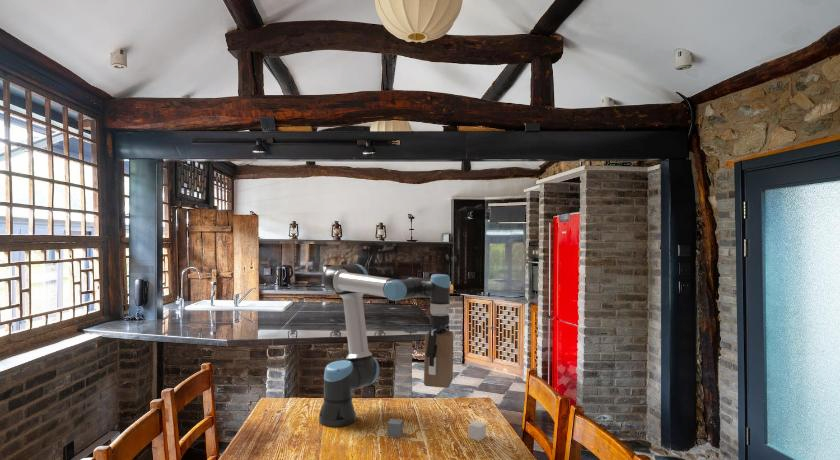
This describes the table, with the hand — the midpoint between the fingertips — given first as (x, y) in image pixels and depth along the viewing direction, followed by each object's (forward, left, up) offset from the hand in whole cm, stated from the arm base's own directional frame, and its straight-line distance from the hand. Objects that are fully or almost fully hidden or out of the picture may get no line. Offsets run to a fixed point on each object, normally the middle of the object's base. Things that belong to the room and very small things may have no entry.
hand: (438, 370), depth 188 cm
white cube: (+14, +6, -25) cm, 29 cm away
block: (0, 0, -5) cm, 5 cm away
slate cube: (-15, -7, -25) cm, 30 cm away
